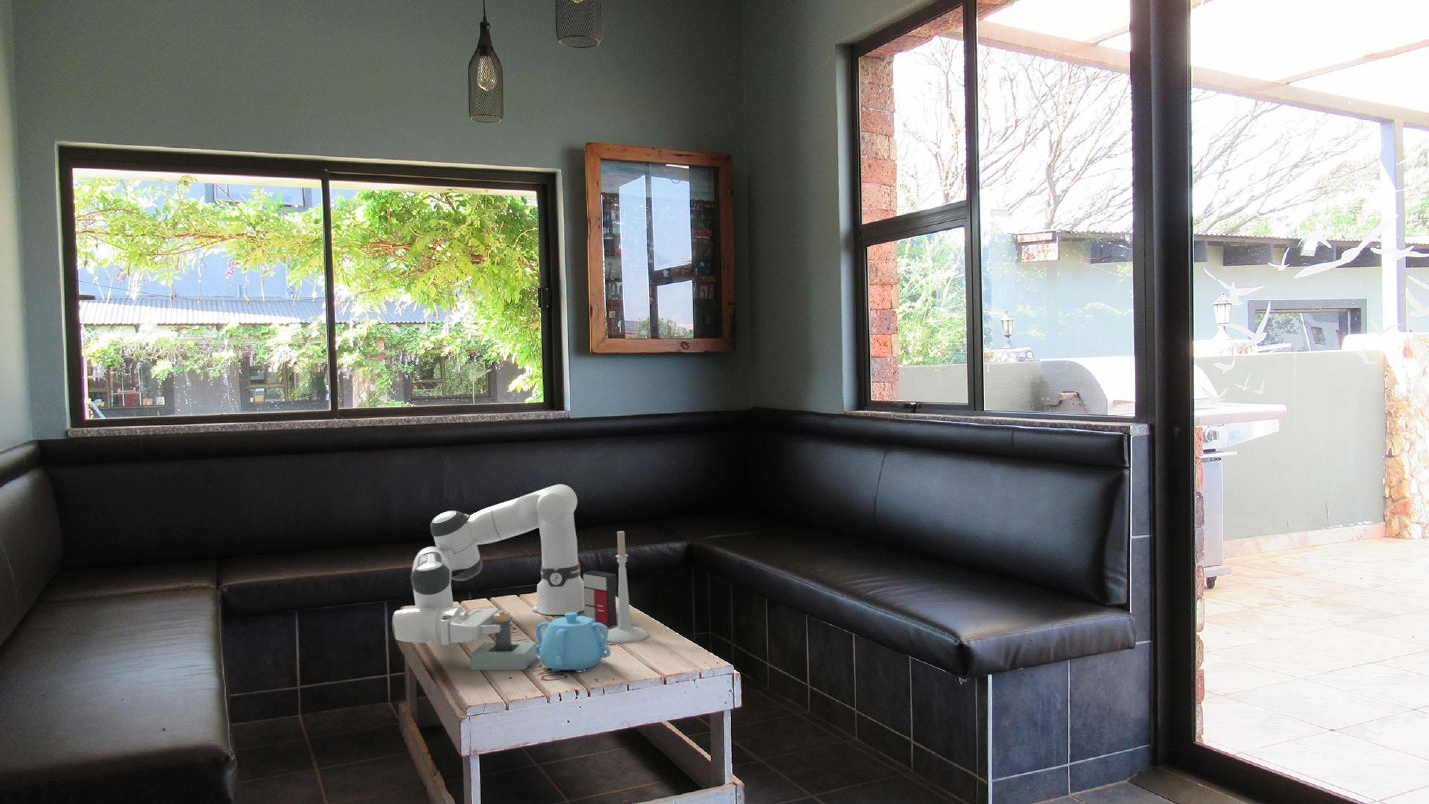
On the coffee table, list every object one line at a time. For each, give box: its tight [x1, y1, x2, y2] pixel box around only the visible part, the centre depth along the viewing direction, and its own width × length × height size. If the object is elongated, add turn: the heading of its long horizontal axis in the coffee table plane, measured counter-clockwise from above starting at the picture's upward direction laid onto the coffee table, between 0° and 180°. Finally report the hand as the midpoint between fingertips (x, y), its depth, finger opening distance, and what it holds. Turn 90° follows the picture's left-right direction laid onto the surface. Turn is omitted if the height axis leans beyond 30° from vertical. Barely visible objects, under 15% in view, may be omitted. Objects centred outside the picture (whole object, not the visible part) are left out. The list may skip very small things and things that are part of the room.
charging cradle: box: [469, 641, 538, 671], centre depth 256 cm, size 11×14×4 cm
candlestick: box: [602, 529, 649, 644], centre depth 277 cm, size 13×13×30 cm
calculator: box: [582, 570, 618, 628], centre depth 293 cm, size 11×4×15 cm, turn 47°
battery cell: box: [494, 609, 512, 652], centre depth 256 cm, size 4×4×13 cm
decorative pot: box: [535, 612, 611, 673], centre depth 251 cm, size 16×16×14 cm
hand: (506, 623), depth 256 cm, fingers open, 8 cm apart
